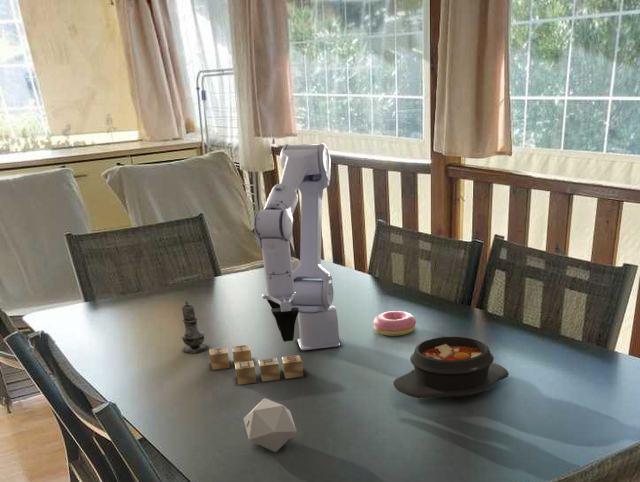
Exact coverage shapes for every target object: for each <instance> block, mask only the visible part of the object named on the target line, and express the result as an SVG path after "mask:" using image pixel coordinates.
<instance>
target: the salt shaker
mask: <svg viewBox="0 0 640 482" xmlns="http://www.w3.org/2000/svg"><path fill="white" fill-rule="evenodd" d="M195 311H196V310H195V306H193V304H190V303H189V301H187V300H185V302H184V304H183V305H182V307H181V312H182V317H183V318H182V322H183V324H184V333H182V334H181V335H180V338H181V339H182V342H183V343H184V344H185V345H186V347H185V348H184V351H185V353H189V354H195V353H201V352H204V351H206V350H207V346H206V345H205V344H203V343H204V341H205V336H206V333H205V332H204V331H202V330H201V331H200V329H199V326H198V325H199V324H198V320H199V319H198V317H197V316H196V312H195Z"/></svg>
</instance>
